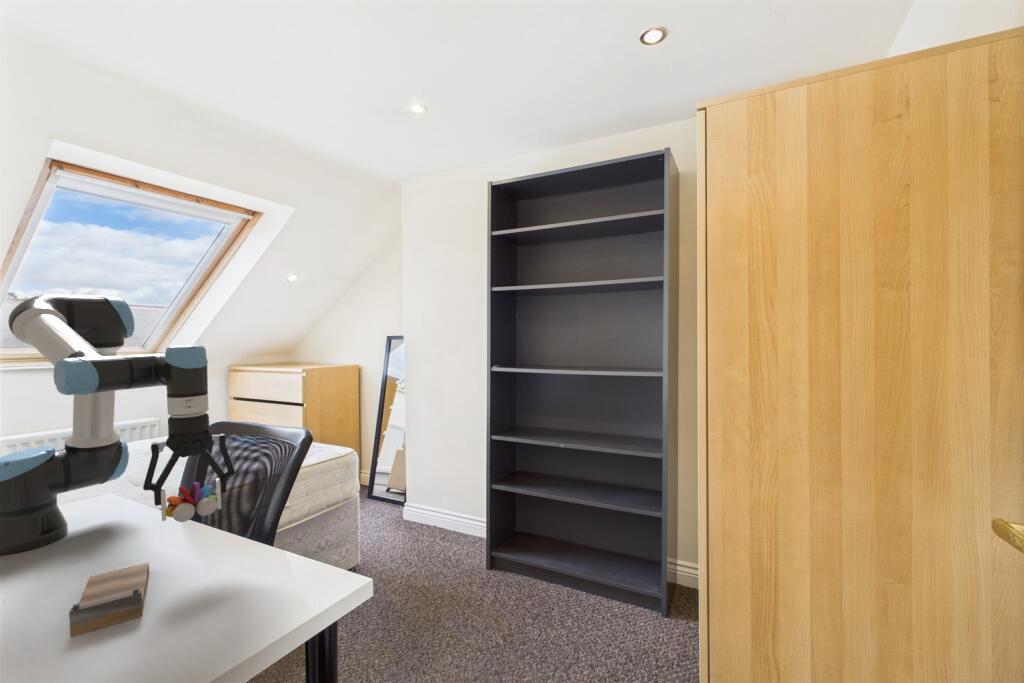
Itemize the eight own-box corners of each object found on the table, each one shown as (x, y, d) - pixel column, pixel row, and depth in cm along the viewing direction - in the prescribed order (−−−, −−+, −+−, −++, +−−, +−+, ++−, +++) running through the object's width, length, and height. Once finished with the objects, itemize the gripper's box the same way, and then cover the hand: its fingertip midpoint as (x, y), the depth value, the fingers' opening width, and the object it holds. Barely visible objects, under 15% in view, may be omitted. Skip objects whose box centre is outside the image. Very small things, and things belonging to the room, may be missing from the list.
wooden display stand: (89, 585, 99) (88, 562, 98) (149, 570, 104) (148, 548, 104) (70, 637, 82) (68, 608, 82) (142, 616, 88) (140, 589, 88)
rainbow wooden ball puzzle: (161, 516, 103) (160, 484, 103) (211, 503, 110) (210, 473, 110) (171, 527, 97) (169, 493, 97) (223, 513, 105) (221, 481, 104)
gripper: (122, 423, 94) (127, 532, 95) (247, 410, 107) (250, 506, 107) (125, 417, 100) (130, 519, 101) (243, 406, 113) (246, 496, 114)
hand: (192, 512), depth 104 cm, fingers closed on rainbow wooden ball puzzle, 9 cm apart
